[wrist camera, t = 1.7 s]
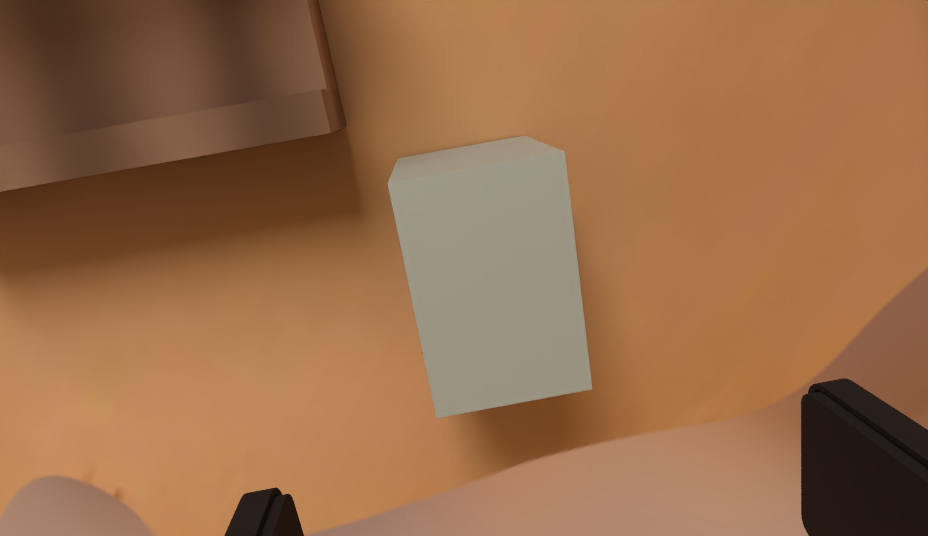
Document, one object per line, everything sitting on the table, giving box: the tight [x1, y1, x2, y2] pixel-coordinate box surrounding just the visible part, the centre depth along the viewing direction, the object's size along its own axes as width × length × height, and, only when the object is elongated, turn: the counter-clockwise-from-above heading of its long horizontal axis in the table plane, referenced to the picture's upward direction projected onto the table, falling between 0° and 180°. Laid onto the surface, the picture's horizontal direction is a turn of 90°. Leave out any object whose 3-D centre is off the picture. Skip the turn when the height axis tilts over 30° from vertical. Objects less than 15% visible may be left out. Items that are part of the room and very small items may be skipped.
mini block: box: [388, 136, 592, 418], centre depth 25 cm, size 6×9×8 cm, turn 10°
